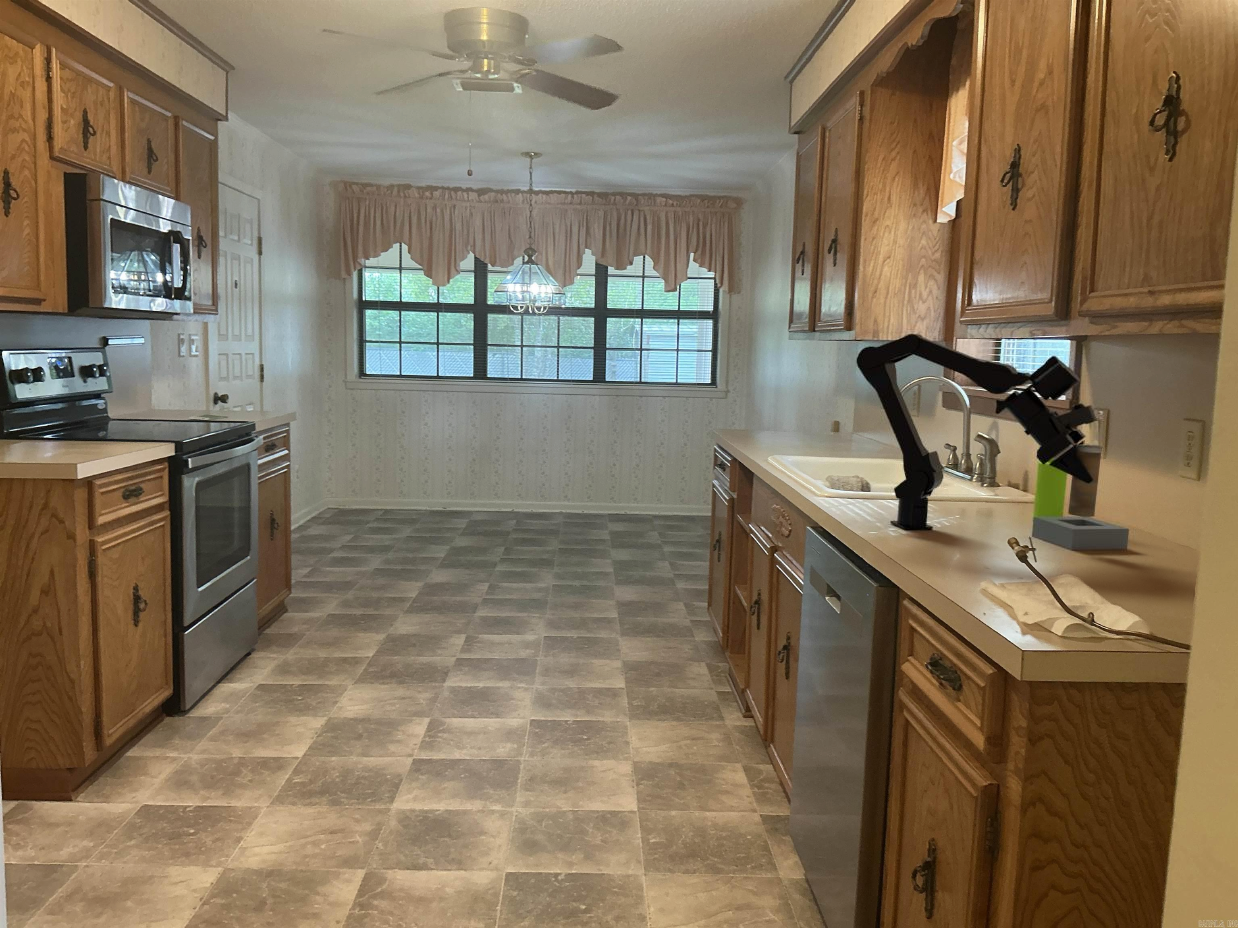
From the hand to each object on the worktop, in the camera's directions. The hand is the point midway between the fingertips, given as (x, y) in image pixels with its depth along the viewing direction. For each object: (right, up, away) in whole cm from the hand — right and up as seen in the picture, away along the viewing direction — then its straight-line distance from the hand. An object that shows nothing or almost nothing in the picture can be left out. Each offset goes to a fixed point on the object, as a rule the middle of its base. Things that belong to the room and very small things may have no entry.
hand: (1092, 480), depth 172 cm
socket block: (+2, -12, +9) cm, 16 cm away
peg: (-1, -6, +2) cm, 7 cm away
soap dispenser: (+5, -10, +30) cm, 32 cm away
